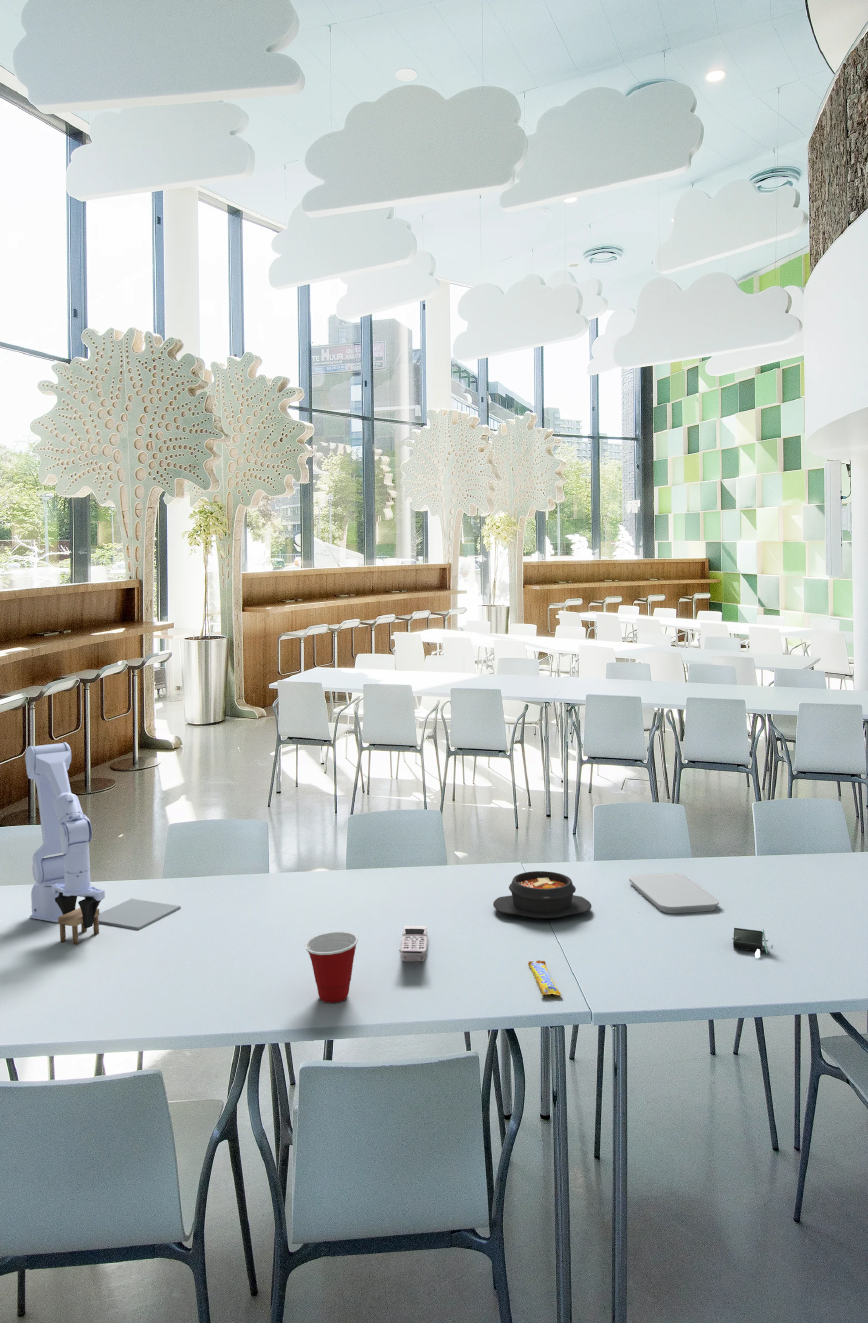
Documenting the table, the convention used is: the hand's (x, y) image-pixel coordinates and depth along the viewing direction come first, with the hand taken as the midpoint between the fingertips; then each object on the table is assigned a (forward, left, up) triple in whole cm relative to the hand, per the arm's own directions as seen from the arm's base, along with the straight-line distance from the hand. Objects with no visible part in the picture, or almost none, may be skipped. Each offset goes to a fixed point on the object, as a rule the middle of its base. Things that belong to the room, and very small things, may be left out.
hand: (79, 925), depth 220 cm
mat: (+2, +17, -3) cm, 17 cm away
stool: (0, 0, -3) cm, 3 cm away
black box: (+148, +52, -4) cm, 157 cm away
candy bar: (+110, +17, -4) cm, 111 cm away
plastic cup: (+72, -6, -3) cm, 72 cm away
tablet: (+127, +81, -4) cm, 151 cm away
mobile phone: (+78, +21, -3) cm, 81 cm away
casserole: (+98, +57, -3) cm, 113 cm away
